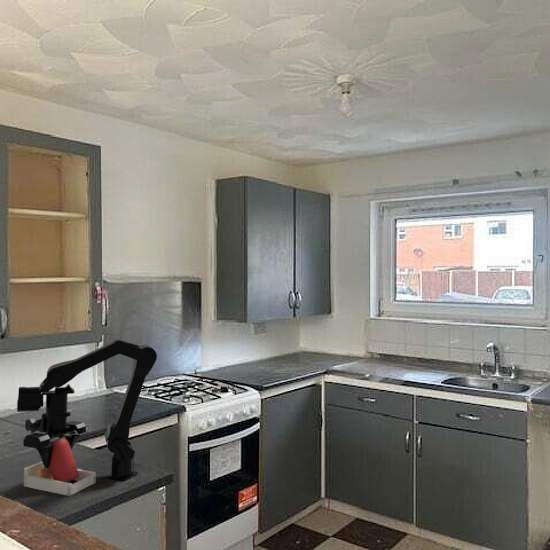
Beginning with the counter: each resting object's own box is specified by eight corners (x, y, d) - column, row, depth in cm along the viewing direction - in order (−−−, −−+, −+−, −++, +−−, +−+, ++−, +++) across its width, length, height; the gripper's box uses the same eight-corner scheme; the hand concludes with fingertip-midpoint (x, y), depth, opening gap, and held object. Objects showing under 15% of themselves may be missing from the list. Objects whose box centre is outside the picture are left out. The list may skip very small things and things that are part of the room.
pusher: (58, 477, 165) (59, 455, 165) (61, 478, 165) (61, 455, 165) (38, 486, 158) (38, 463, 158) (40, 487, 158) (41, 464, 158)
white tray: (51, 474, 168) (52, 457, 168) (95, 482, 162) (96, 465, 162) (23, 486, 158) (24, 468, 158) (69, 495, 152) (69, 477, 152)
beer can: (82, 474, 163) (69, 434, 164) (74, 479, 156) (61, 437, 158) (60, 483, 162) (48, 442, 164) (52, 488, 156) (39, 446, 157)
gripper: (58, 400, 172) (57, 451, 172) (8, 413, 155) (7, 470, 155) (87, 403, 168) (86, 456, 168) (39, 418, 151) (38, 476, 151)
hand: (55, 464), depth 161 cm, fingers closed on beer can, 6 cm apart
